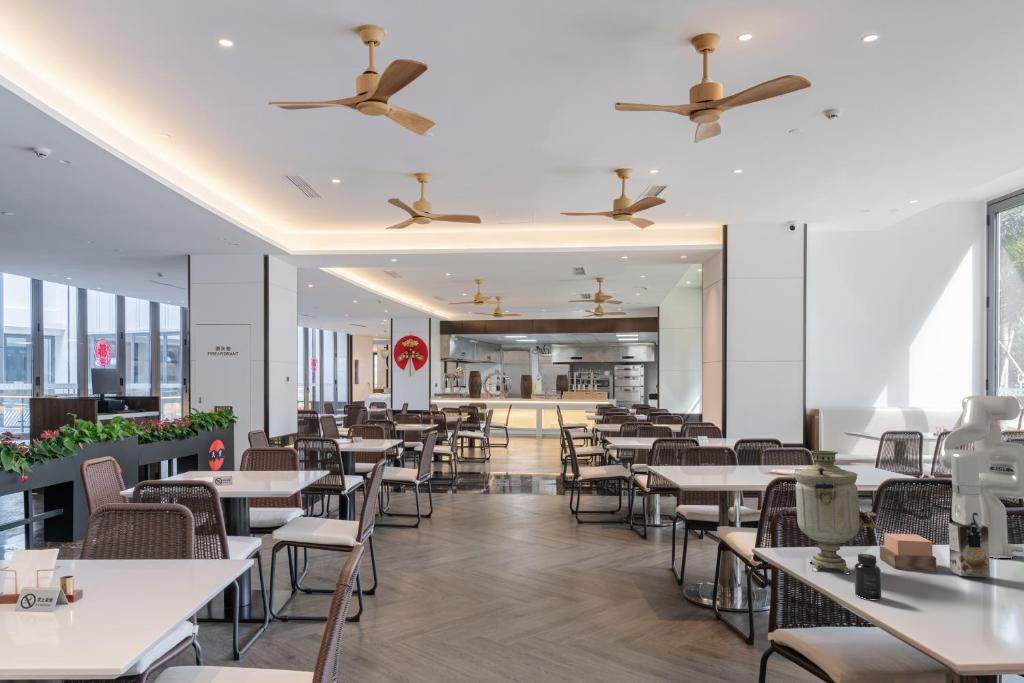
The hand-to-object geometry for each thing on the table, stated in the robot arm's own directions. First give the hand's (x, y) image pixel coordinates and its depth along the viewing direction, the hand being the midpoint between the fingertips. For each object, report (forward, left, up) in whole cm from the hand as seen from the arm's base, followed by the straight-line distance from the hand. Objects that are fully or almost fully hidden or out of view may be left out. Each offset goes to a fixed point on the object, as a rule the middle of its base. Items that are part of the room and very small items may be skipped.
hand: (968, 543), depth 211 cm
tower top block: (+14, -11, -6) cm, 19 cm away
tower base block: (+14, -12, -11) cm, 22 cm away
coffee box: (0, 0, -10) cm, 10 cm away
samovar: (+41, +1, -11) cm, 43 cm away
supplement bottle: (+41, +29, -11) cm, 52 cm away
